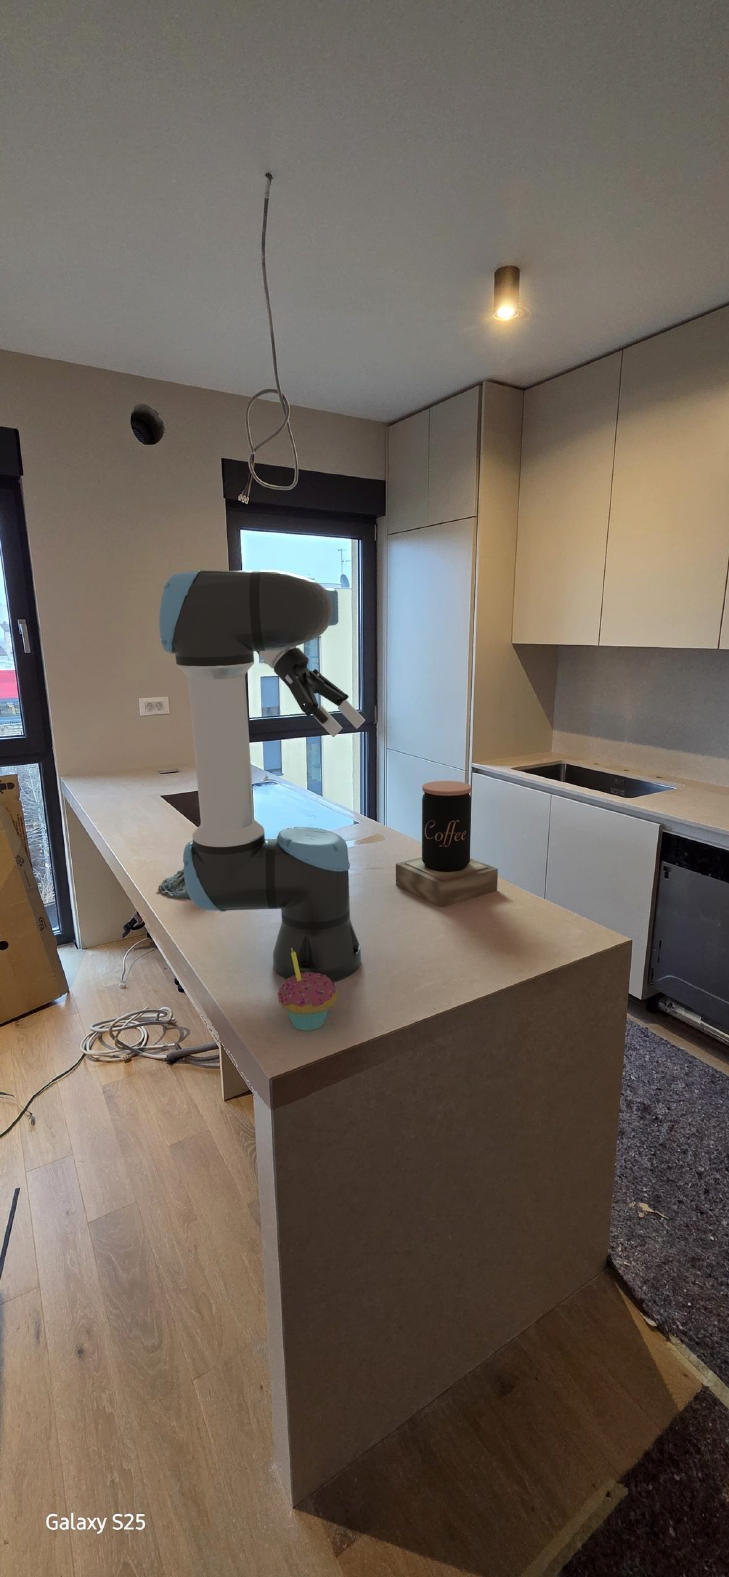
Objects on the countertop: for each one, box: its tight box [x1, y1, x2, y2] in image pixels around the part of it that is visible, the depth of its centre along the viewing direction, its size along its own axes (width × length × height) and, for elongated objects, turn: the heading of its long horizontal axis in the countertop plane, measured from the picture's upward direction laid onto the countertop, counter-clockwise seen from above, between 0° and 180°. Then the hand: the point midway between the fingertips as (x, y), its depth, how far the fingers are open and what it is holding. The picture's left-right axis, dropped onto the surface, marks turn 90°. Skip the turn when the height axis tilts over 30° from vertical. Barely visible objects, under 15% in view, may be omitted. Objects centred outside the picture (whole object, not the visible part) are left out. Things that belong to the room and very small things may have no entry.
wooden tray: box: [395, 856, 499, 908], centre depth 147 cm, size 16×16×5 cm
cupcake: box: [277, 948, 339, 1032], centre depth 95 cm, size 9×8×12 cm
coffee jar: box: [421, 780, 472, 872], centre depth 144 cm, size 11×11×18 cm
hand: (350, 728), depth 143 cm, fingers open, 13 cm apart
